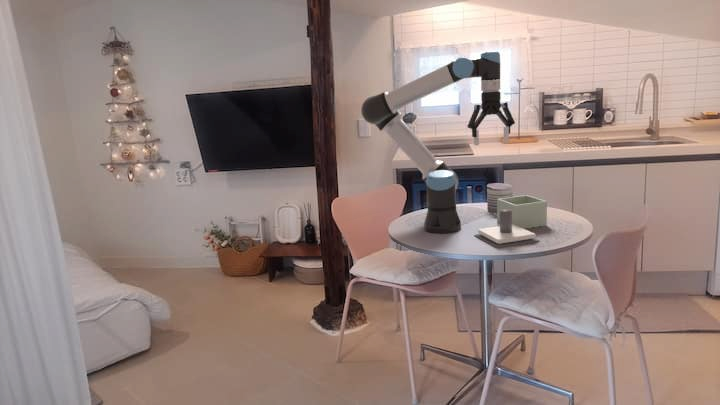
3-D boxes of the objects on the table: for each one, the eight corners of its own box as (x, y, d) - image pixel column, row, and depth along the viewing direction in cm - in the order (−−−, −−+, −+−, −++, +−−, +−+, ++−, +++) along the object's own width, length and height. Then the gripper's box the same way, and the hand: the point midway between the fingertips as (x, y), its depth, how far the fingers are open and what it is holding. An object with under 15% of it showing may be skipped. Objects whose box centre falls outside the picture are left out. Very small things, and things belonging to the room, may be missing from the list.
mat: (496, 248, 172) (496, 246, 172) (474, 235, 188) (474, 234, 188) (539, 241, 176) (539, 240, 176) (513, 230, 192) (513, 228, 192)
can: (500, 206, 231) (500, 181, 229) (518, 210, 221) (518, 184, 219) (481, 210, 226) (481, 185, 224) (499, 215, 216) (498, 188, 214)
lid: (498, 245, 173) (497, 217, 171) (478, 235, 188) (477, 209, 185) (535, 240, 177) (535, 212, 175) (512, 229, 191) (512, 204, 189)
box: (515, 230, 192) (515, 205, 190) (497, 222, 205) (497, 198, 203) (546, 225, 195) (547, 201, 193) (526, 217, 208) (526, 195, 206)
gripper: (466, 93, 191) (468, 147, 196) (523, 89, 197) (523, 141, 201) (458, 93, 198) (459, 145, 203) (513, 89, 204) (513, 140, 208)
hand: (491, 143), depth 202 cm, fingers open, 13 cm apart
